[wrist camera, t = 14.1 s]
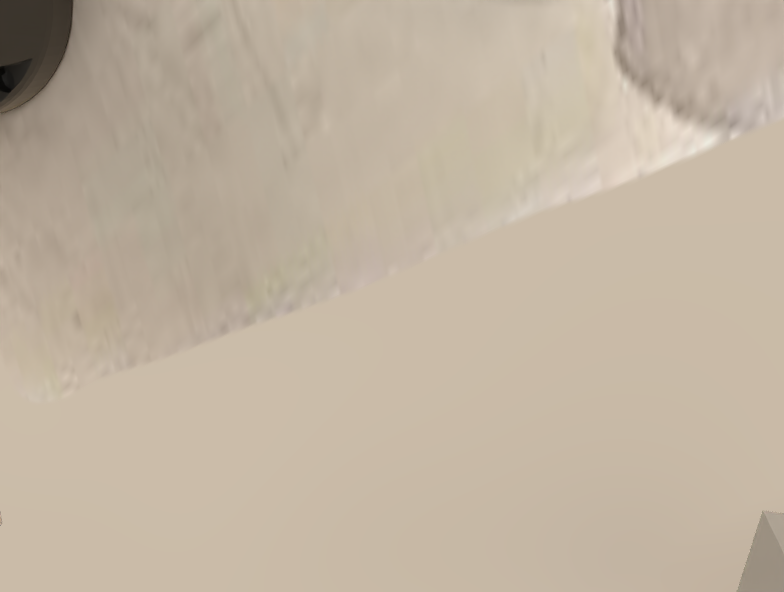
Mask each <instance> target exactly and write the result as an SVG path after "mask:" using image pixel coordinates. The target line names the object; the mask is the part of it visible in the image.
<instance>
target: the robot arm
mask: <svg viewBox="0 0 784 592" xmlns="http://www.w3.org/2000/svg"><path fill="white" fill-rule="evenodd" d="M71 7H72V3H71V0H0V113H3V112H6V111H9V110H12V109H14V108H16V107H18V106H20V105H22V104H23V103H25V102H27V101H28V100H29V99H31V98H32V97H33V96H34V95H36V94H37V93H38V92H39V91H40V90H41V89H42V88H43V87H44V86H45V84H46V83H47V82H48V81H49V79H50V78H51V76H52V75H53V73H54V72H55V70H56V68H57V66H58V64H59V62H60V60H61V58H62V55H63V53H64V50H65V47H66V43H67V39H68V35H69V30H70V23H71ZM1 524H2V519H1V514H0V525H1ZM737 592H784V514H783V513H777V512H769V511H762V515H761V518H760V521H759V524H758V527H757V530H756V533H755V537H754V540H753V543H752V546H751V549H750V552H749V555H748V558H747V562H746V565H745V568H744V571H743V574H742V577H741V580H740V584H739V587H738V590H737Z"/></svg>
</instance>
